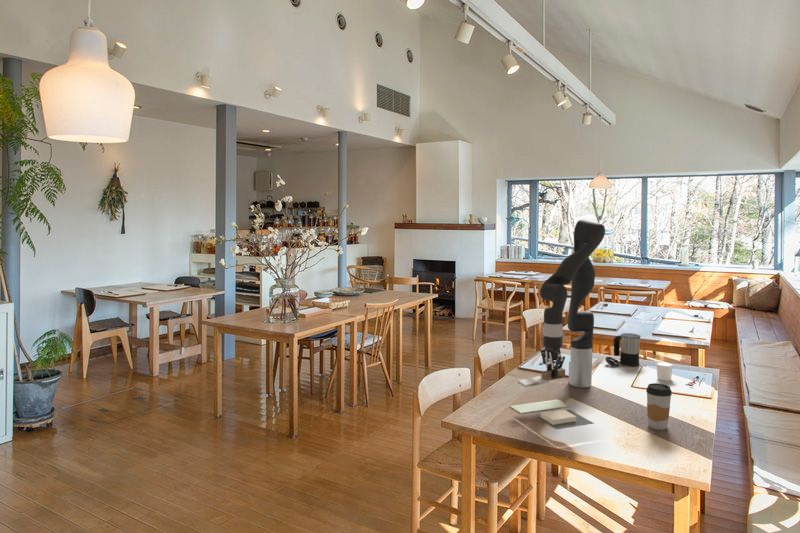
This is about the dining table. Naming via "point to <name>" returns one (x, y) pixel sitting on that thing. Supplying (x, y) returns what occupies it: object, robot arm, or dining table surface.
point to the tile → (558, 417)
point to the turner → (541, 378)
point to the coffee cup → (658, 405)
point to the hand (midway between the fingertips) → (552, 377)
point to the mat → (578, 422)
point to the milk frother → (626, 350)
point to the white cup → (664, 371)
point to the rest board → (539, 406)
